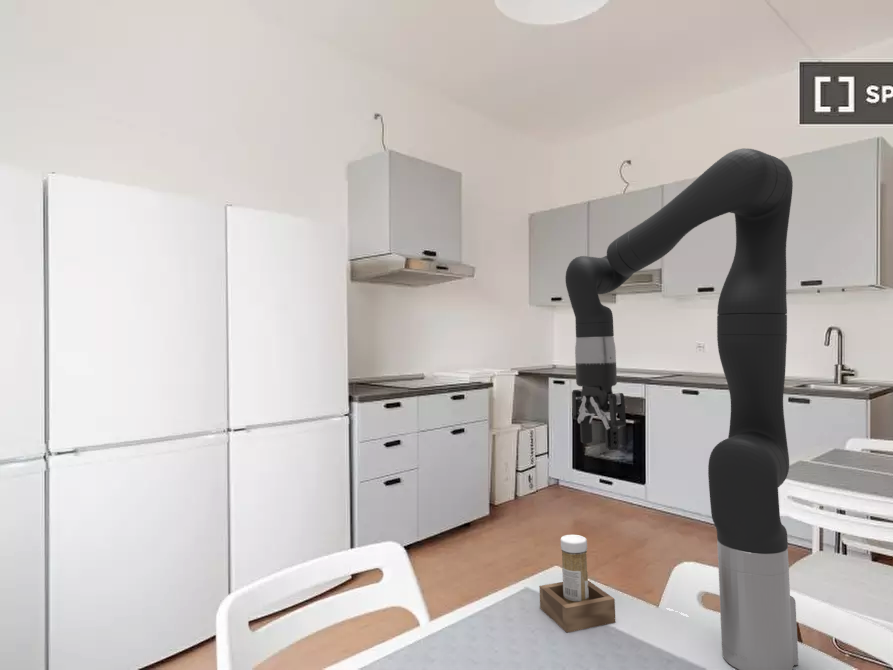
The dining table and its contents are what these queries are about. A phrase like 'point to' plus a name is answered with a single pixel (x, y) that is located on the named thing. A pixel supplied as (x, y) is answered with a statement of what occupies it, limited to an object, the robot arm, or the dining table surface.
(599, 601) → the frame
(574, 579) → the sprinkles bottle
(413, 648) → the dining table surface
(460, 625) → the dining table surface
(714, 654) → the dining table surface
